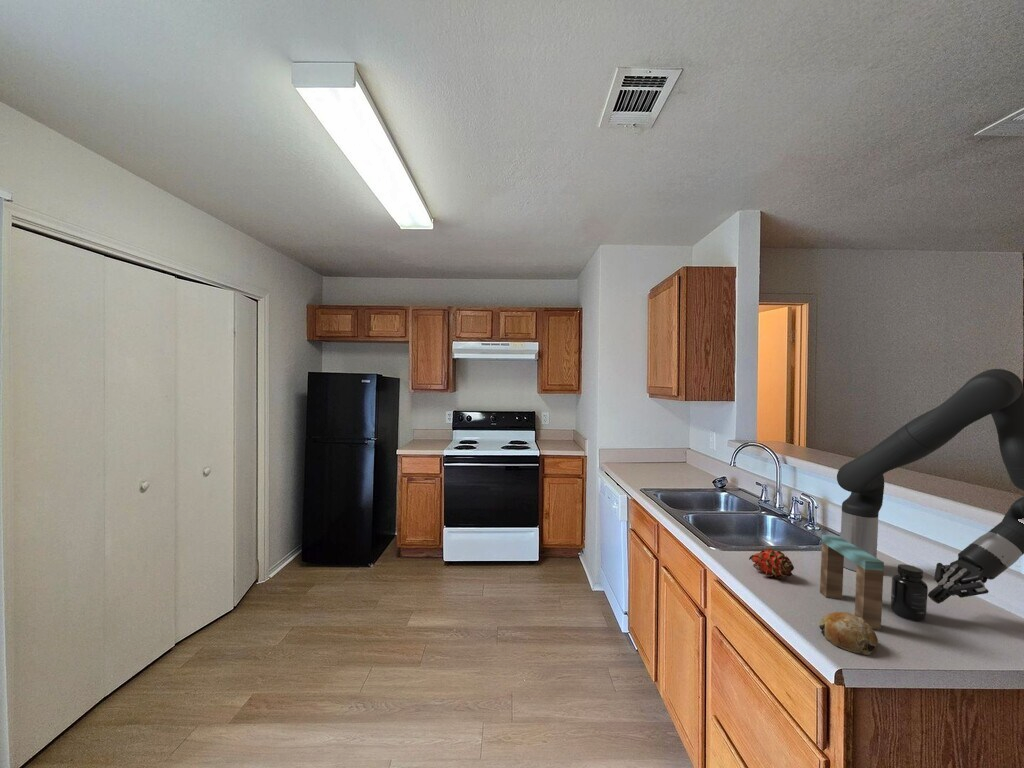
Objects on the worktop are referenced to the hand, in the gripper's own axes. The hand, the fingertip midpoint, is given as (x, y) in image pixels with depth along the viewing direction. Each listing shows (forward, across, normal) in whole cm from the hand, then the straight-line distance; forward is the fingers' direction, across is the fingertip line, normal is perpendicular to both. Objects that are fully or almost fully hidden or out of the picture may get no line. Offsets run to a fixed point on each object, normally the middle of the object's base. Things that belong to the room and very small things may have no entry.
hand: (932, 599), depth 113 cm
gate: (+17, 0, -11) cm, 20 cm away
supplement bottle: (+7, 0, -1) cm, 7 cm away
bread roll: (+24, +16, -17) cm, 33 cm away
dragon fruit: (+25, -18, -18) cm, 36 cm away
